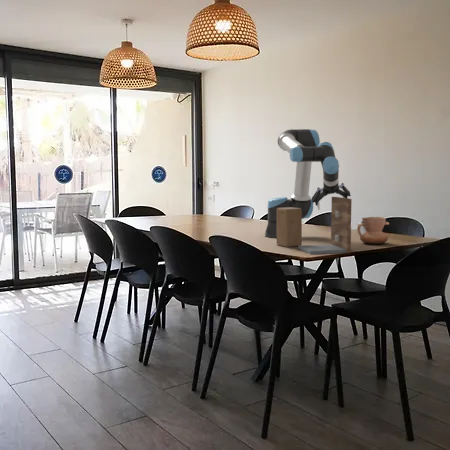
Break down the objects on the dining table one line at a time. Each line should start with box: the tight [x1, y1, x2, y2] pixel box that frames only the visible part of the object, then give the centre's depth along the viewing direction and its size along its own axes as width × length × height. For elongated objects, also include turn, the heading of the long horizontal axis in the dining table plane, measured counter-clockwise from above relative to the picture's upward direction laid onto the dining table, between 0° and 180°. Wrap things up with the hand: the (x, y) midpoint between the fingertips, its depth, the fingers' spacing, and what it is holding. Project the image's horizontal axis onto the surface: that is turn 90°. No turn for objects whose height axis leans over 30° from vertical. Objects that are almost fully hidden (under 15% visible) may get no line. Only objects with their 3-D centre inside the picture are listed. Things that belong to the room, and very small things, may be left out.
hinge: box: [356, 220, 366, 234], centre depth 317 cm, size 17×5×10 cm, turn 178°
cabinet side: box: [330, 196, 352, 254], centre depth 261 cm, size 3×20×26 cm, turn 10°
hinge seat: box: [297, 243, 347, 255], centre depth 260 cm, size 18×18×2 cm
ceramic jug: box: [356, 216, 390, 245], centre depth 283 cm, size 18×14×14 cm
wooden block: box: [276, 207, 303, 248], centre depth 277 cm, size 10×10×20 cm
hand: (331, 205), depth 283 cm, fingers open, 13 cm apart
